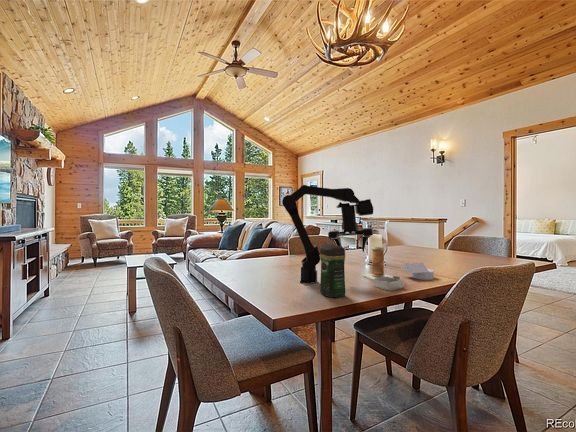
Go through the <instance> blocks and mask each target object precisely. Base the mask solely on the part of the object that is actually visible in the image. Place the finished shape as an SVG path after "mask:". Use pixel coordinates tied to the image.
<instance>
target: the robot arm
mask: <svg viewBox="0 0 576 432" xmlns="http://www.w3.org/2000/svg"><path fill="white" fill-rule="evenodd" d="M305 195H308V196H309V195H310V196H316V197H324V198H332V199H335V200H337V201H340V202H338V203H337V206H336V208H337V209H339V208H341V209H340V210H341V218H342V220H341V221H342V223H341V228H342V229H341V230H343V231H339V229H338V230H336V229H335V230H330V231H329V232H328V234H327V235H328V239H331V241H334V242H335V245H337V246H341V247H343V246H342V240H341V236H342V237H344V236H358V235H362V237H361V238H362V239H361V240H362V241H361V245H362V246H361V248H362V253H365V249H366V243H367V241H368V239H369V238H370V237H371V236H373V235H374V229H373V228H372V227H363V228H362V229H358V228H359V225H358V223H357V217H356V214H357V215H358V217H361V216H362V217H363V216H369V215H373V214H374V206H373V204H372V199H371V198H368V199H364V200H360V199H359V198H358V197H357V196H356V195H355V192H354V190H353V189H352V188H349V187H346V188H345V187H343V188H342V187H340V188H329V187H328V188H327V187H319V186H312V185H307V184H303V185H301V186H300V187H299V188H298V189H297V190H296V191H295V190H294V192H292V194H287V195H284V196H283V198H282V201H281V203H282V206H283V207H284V209H285V210H286V211H287V213H288V214H289V216H290V218H291V221H292V222H293V225H294V228H295V230H296V232H297V234H298V237H299V239H300V241H301V243H302V246H303V250H304V255H305V257H304V258H303V259H302V260H301V265H302V266H301V267H300V281H299V283H301V284H302V283H303V284H304V283H305V284H316V282H317V281H318V270H317V265H318V264H319V263H321V258H320V251H319V247H318V245H317V244H313V243H312V242H311V240H310V237H309V235H308V232H307V231H306V230H307V229H306V227H305V225H304V223H303V222H302V218H301V217H300V214H299V210H298V206H297V205H298V204H297V201H299V200H300V199H301V198H302V197H305ZM342 202H344V203H342Z"/></svg>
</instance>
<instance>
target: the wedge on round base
mask: <svg viewBox="0 0 576 432" xmlns="http://www.w3.org/2000/svg"><path fill="white" fill-rule="evenodd" d="M400 270H402V271H405V272H408V273H411V277H412V279H413V278H414V279H418V280H427V281H428V280H429V281H430V280H434V279H433V278H434V277H435V276H434V274H435V271H434V270H433V269H432V268H431V269H430V268H427V266H426V265H425V264H424V262H413V263H410V262H409V263H404V265H402V267H401V268H400Z"/></svg>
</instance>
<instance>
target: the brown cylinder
mask: <svg viewBox="0 0 576 432" xmlns="http://www.w3.org/2000/svg"><path fill="white" fill-rule="evenodd" d="M385 250H386V249H385V247H382V246H381V247H380V246H372V247H371V251H372V252H371V253H372V257H371V258H372V264H371V265H372V267H371V268H372V270H371V271H372V273H371V274H372V276H373V277H378V278H381V277H384V274H385V273H384V272H385V271H384V269H385V265H384V264H385V256H384V255H385Z"/></svg>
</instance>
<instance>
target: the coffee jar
mask: <svg viewBox="0 0 576 432" xmlns="http://www.w3.org/2000/svg"><path fill="white" fill-rule="evenodd" d="M319 253H320V284H319V285H320V287H319V288H320V289H319V290H320V293H321V294H322V295H324V296H326V297H329V298H341V297H344V296H346V280H345V279H346V278H345V277H346V276H345V262H346V261H345V260H346V249H345V248H344V247H343V246H342V247H341V246H337V244H330V243H329V244H323V245H322V246H320V251H319Z"/></svg>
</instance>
